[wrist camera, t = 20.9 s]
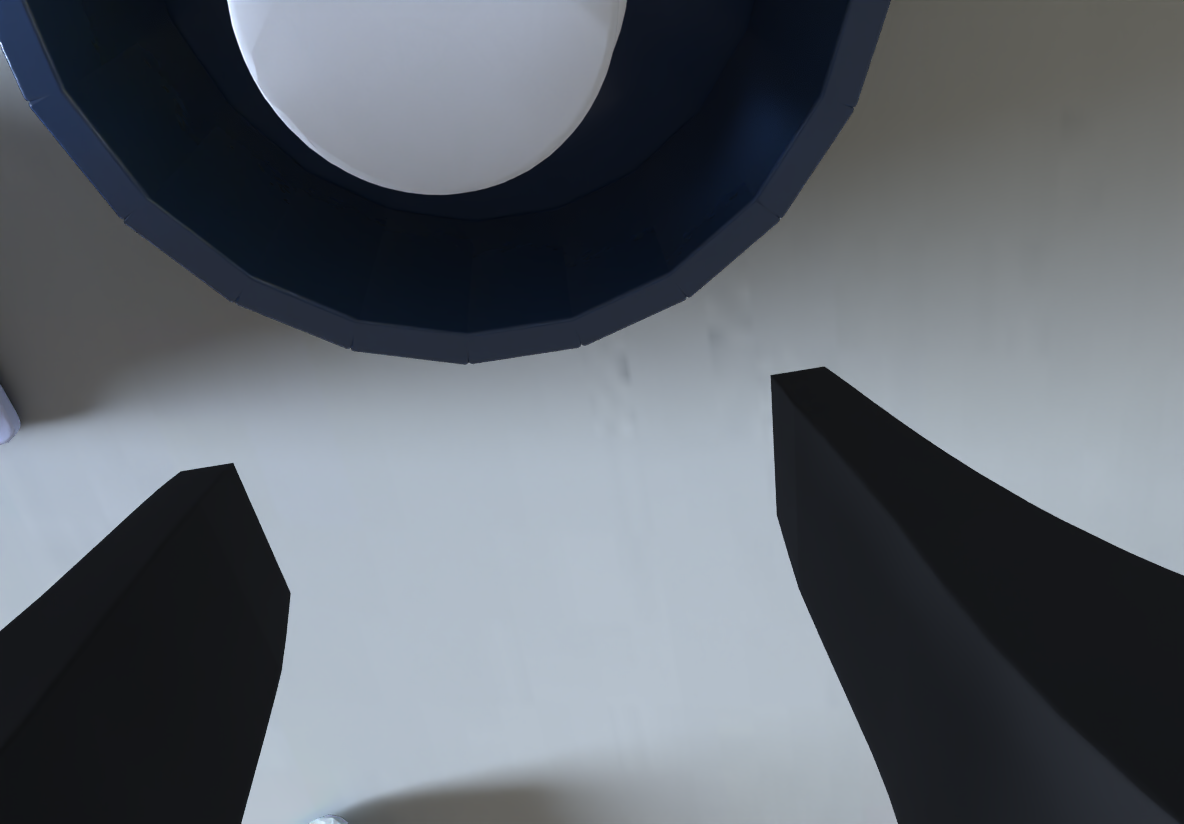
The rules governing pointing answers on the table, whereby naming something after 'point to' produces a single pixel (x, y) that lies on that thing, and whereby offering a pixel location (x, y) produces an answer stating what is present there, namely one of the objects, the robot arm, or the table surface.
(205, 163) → the tin
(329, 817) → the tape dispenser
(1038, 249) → the table surface
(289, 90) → the supplement bottle
